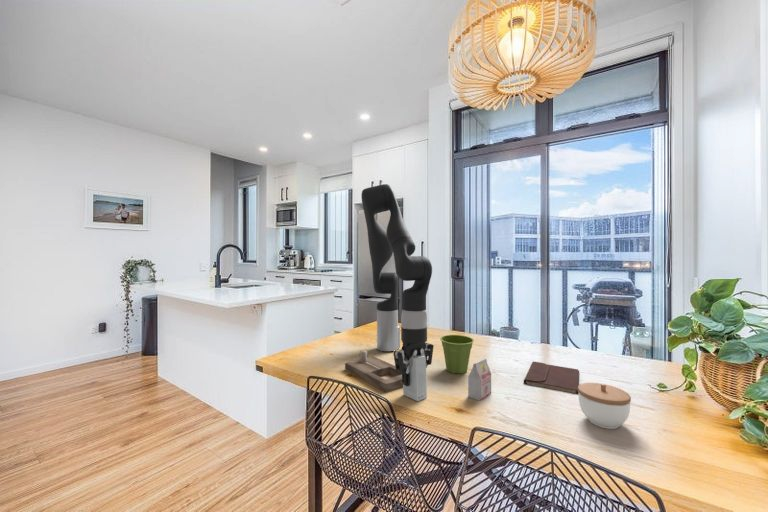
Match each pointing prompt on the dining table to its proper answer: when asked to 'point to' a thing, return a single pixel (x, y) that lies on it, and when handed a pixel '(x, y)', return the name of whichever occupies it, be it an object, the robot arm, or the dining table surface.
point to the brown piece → (375, 372)
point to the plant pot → (456, 352)
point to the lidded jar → (604, 404)
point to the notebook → (553, 377)
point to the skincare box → (417, 379)
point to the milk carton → (479, 380)
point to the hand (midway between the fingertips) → (414, 382)
